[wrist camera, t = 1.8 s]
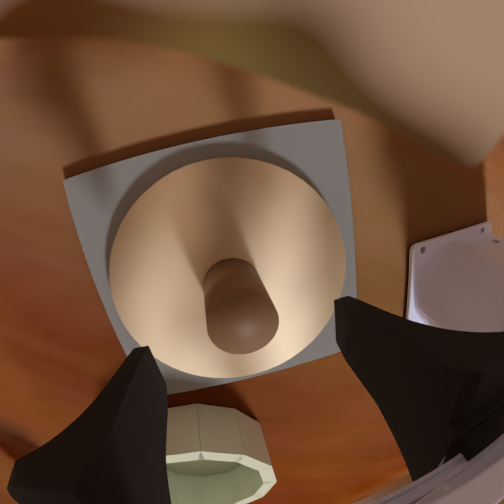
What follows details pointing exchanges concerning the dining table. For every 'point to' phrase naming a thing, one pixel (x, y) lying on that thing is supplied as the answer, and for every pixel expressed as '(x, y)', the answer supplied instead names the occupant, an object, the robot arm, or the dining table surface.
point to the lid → (227, 267)
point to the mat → (170, 159)
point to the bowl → (216, 456)
